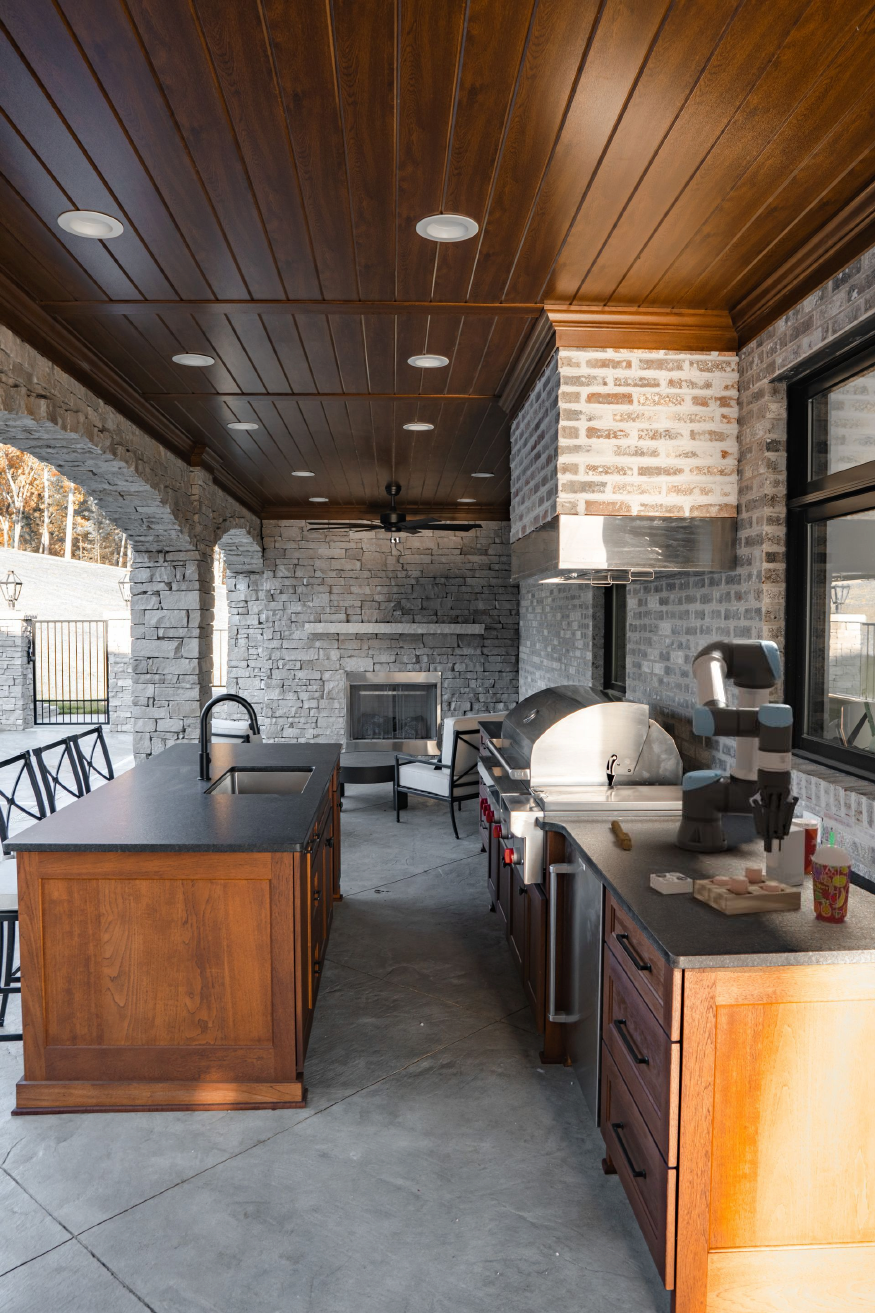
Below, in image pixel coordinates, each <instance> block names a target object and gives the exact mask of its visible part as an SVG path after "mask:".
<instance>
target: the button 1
mask: <svg viewBox="0 0 875 1313" xmlns="http://www.w3.org/2000/svg"><path fill="white" fill-rule="evenodd" d="M729 878H730V877H728V876H725V875H724V876H722V875H717V876H715V877H713V878H712V879H713V884H715V885H717V886H731V880H730V879H729Z"/></svg>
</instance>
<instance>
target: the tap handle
mask: <svg viewBox="0 0 875 1313" xmlns="http://www.w3.org/2000/svg"><path fill="white" fill-rule="evenodd" d="M610 827H611V829H612V830H613V832H614V833H615V834H616V837H617V839H616V840H617V842H619V843H618V845H619V844H620V845H619V846H621V847H623V848H622V849H624V850H625V849H626V850H625V851H630V850H631V849H632V848H633V845H632V837H631V836H630V834H629V832H625V831H624V829H623V827H622V826H621V824H620V822H619V821H618V820H613V821H611V823H610ZM624 840H625V841H624ZM621 847H620V848H621Z"/></svg>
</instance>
